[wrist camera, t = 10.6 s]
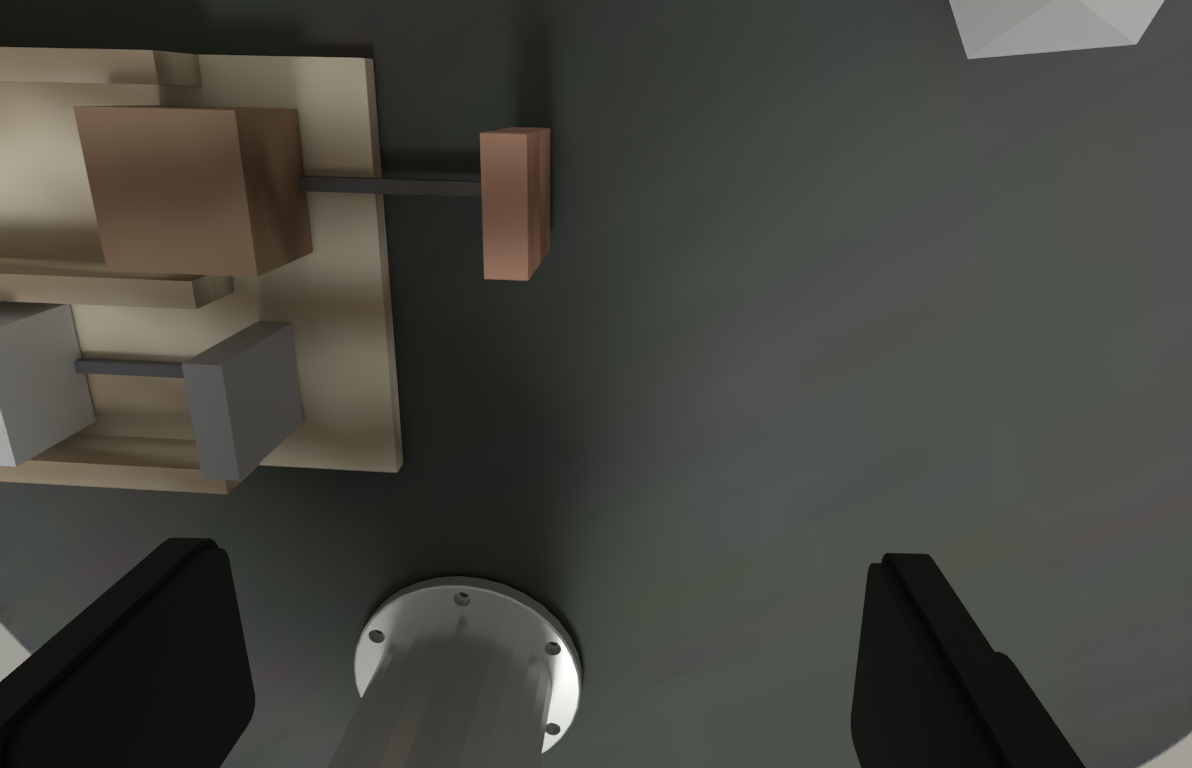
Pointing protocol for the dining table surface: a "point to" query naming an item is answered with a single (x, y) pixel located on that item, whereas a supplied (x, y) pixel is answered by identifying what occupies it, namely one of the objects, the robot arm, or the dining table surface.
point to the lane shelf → (200, 302)
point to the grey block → (212, 378)
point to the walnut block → (273, 190)
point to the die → (1049, 24)
